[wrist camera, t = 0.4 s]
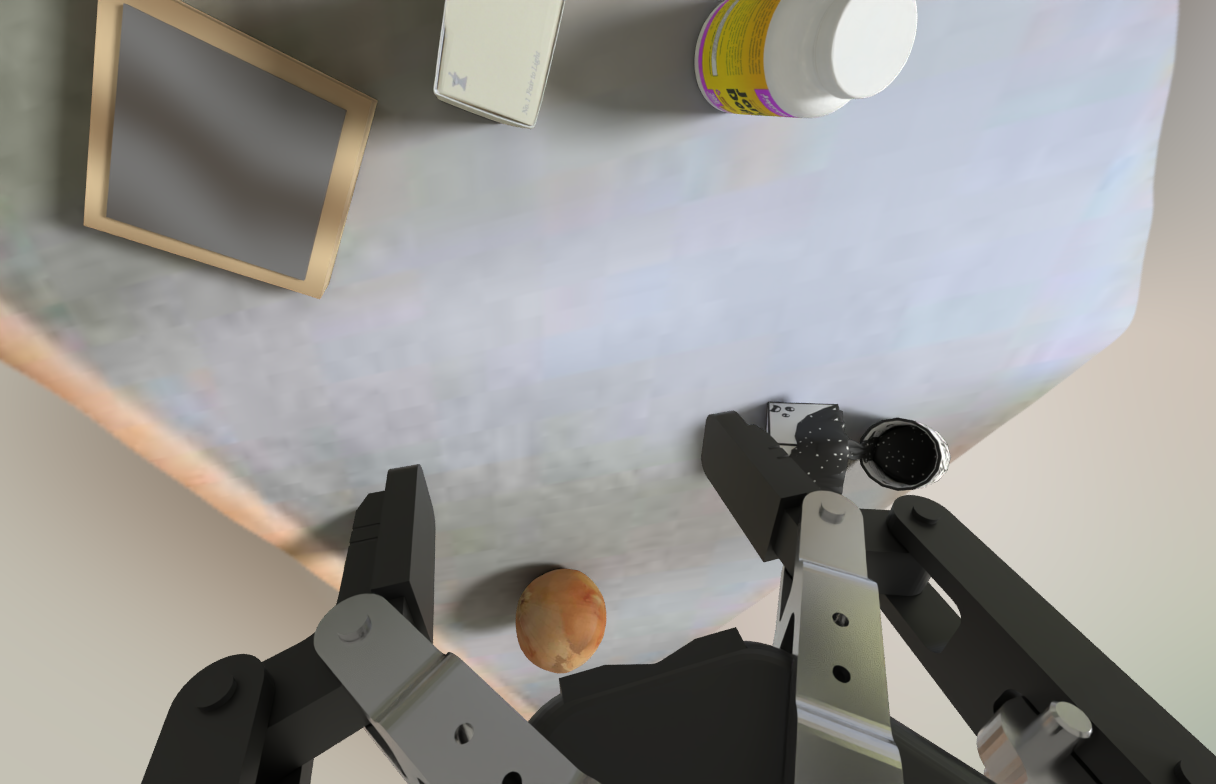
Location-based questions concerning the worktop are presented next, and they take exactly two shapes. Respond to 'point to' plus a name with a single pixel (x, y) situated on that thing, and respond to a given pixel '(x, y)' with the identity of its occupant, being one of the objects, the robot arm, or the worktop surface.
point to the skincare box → (497, 57)
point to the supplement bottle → (801, 54)
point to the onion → (560, 620)
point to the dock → (220, 145)
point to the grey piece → (857, 447)
